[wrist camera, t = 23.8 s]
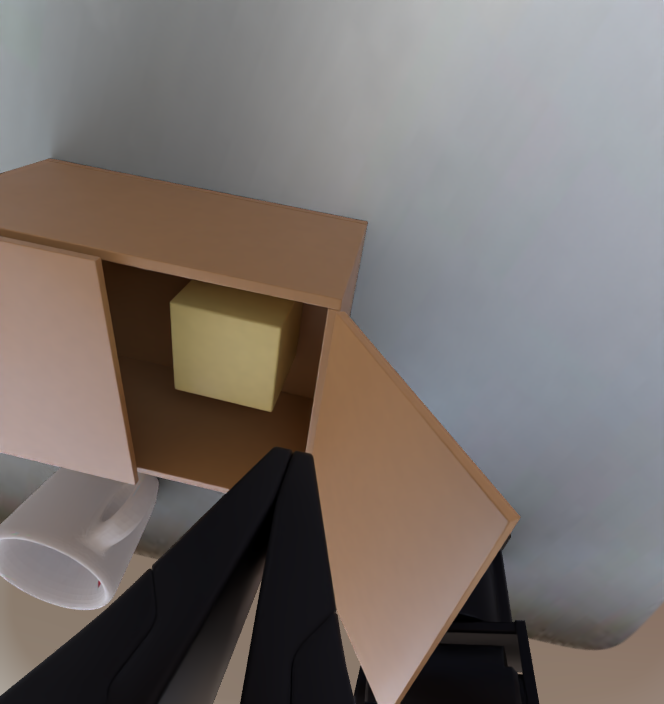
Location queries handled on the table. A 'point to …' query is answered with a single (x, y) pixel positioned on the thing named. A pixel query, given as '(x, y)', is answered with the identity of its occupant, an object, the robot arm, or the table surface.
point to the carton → (151, 320)
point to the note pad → (233, 343)
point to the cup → (75, 537)
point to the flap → (397, 514)
